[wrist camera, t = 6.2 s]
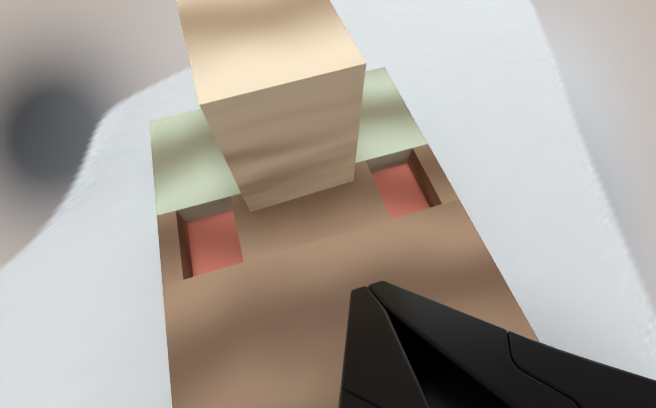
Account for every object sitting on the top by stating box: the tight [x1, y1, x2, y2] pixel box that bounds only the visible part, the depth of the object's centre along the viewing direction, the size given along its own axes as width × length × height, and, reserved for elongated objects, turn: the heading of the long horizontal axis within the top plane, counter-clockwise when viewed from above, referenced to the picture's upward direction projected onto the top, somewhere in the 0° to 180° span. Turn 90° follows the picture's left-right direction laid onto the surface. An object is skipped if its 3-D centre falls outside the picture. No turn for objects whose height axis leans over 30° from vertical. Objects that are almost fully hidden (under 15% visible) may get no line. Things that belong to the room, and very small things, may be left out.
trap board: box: [149, 67, 539, 408], centre depth 19 cm, size 19×16×2 cm
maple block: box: [176, 0, 366, 212], centre depth 17 cm, size 8×6×8 cm
